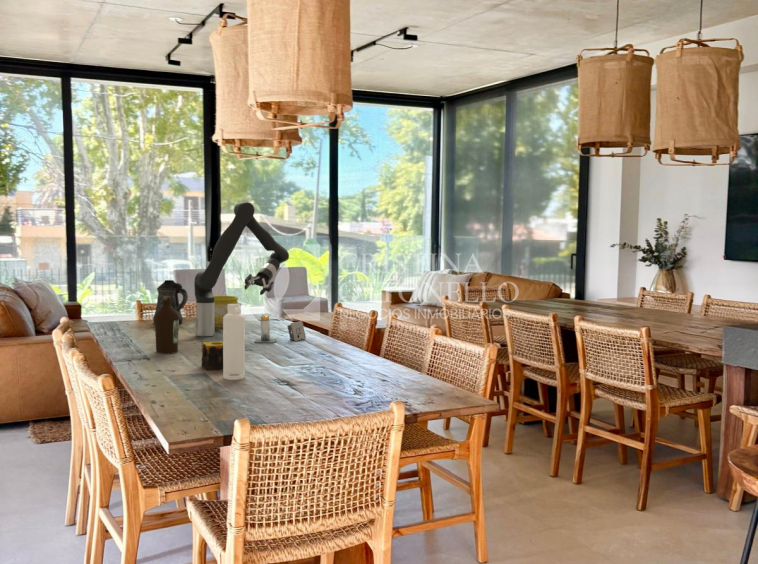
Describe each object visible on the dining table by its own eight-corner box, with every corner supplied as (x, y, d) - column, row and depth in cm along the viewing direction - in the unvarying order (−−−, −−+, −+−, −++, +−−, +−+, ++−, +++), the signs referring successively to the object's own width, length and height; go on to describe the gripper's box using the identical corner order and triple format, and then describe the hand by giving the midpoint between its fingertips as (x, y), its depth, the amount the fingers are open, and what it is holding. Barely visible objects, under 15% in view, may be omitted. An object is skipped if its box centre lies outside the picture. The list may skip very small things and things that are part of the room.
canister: (260, 340, 351) (259, 316, 350) (261, 339, 355) (261, 315, 354) (269, 340, 351) (268, 316, 350) (270, 339, 355) (269, 315, 354)
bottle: (234, 380, 265) (234, 306, 262) (218, 378, 269) (218, 304, 267) (249, 377, 272) (249, 304, 269) (233, 374, 276) (233, 302, 274)
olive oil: (151, 353, 316) (151, 298, 314) (158, 349, 326) (157, 295, 324) (175, 354, 316) (175, 298, 314) (181, 349, 327) (181, 295, 324)
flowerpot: (234, 328, 394) (234, 299, 393) (202, 328, 394) (202, 298, 393) (241, 324, 412) (241, 295, 411) (210, 323, 412) (210, 295, 411)
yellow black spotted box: (206, 370, 282) (206, 346, 281) (200, 366, 291) (200, 342, 290) (232, 368, 287) (232, 344, 286) (225, 364, 295) (225, 340, 295)
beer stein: (154, 321, 416) (153, 279, 414) (188, 321, 420) (188, 279, 418) (152, 325, 400) (151, 281, 398) (187, 325, 404) (187, 281, 402)
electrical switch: (295, 341, 355) (294, 323, 354) (287, 341, 357) (286, 323, 357) (306, 339, 363) (305, 321, 362) (298, 339, 365) (296, 321, 365)
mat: (254, 343, 348) (254, 341, 348) (256, 339, 358) (256, 338, 358) (274, 343, 348) (274, 342, 348) (276, 339, 358) (276, 338, 358)
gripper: (254, 263, 372) (240, 281, 360) (279, 272, 370) (266, 289, 358) (253, 274, 377) (240, 292, 365) (278, 283, 375) (265, 300, 363)
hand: (253, 291), depth 361 cm, fingers open, 8 cm apart
